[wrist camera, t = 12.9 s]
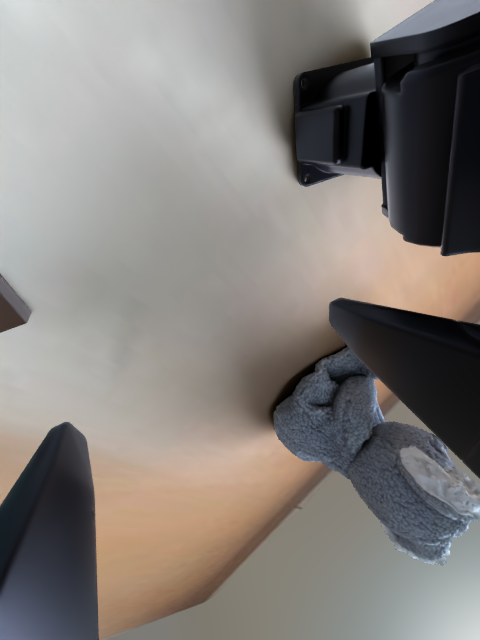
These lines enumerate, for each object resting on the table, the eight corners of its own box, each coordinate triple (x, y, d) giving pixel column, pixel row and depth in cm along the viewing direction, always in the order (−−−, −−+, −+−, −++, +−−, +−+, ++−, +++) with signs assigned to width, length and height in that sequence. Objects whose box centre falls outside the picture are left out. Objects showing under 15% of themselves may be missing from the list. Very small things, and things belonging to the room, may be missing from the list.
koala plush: (360, 403, 46) (487, 530, 31) (268, 449, 41) (364, 627, 26) (382, 323, 35) (587, 454, 20) (262, 372, 31) (417, 590, 16)
